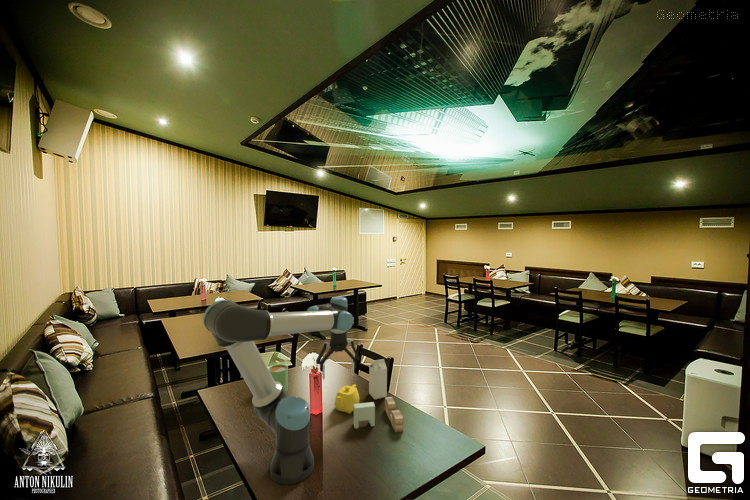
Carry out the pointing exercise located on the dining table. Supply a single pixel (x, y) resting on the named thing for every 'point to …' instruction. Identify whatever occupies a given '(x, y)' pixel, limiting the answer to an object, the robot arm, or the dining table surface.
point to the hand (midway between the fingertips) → (338, 376)
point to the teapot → (347, 399)
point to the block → (364, 413)
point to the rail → (394, 414)
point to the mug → (280, 374)
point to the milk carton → (378, 379)
